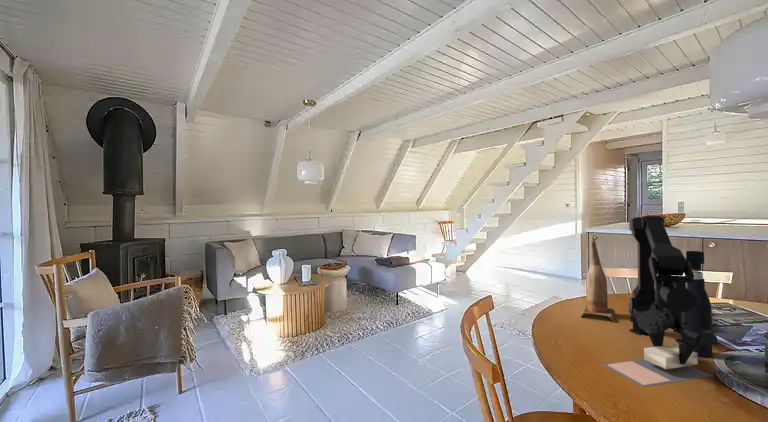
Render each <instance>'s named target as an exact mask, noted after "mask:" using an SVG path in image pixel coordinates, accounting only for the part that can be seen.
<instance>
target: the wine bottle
mask: <svg viewBox="0 0 768 422" xmlns="http://www.w3.org/2000/svg"><path fill="white" fill-rule="evenodd" d="M685 256H686V257H685V258H686V259H687V260H688V262H689V263H690V265H691V268H692V271H693V274H694V279H693V283H686V288H687V289H688V290H690V291H691V292H692V293H693V294H694V295H695V296H696V299H697V304H696V306H695V308H694V309H692V310H690V311H687V312H683V317H684V320H685V321H688V325H686V326H684V328H687V329H690V328H697V327H699V328H702V329H705V330H708V331H711V332H713V316H712V314H713V313H712V312H713V311H712V310H713V309H712V305H711V301H710V298H709V295H708V293H707V290H706V289H705V287H706V284H705V282H706V281H705V279H704V273H703V272H702V271H703V270H702V265H704V264H705V252H704V251H700V250H699V251H698V250H687V251H686V252H685ZM694 352H696V353H697V354H698V358H701V359H708V358H712V357H713V345H707V346H697V347H696V348H695V350H694Z"/></svg>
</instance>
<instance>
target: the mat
mask: <svg viewBox="0 0 768 422" xmlns="http://www.w3.org/2000/svg"><path fill="white" fill-rule="evenodd" d="M602 366H604V367H606V368H607V369H609V370H610V371H613V372H614V373H616V374H618V375H619V376H622V377H623V378H624V379H626V380H629V381H630V382H632V383H633V384H635V385H637V386H639V387H641V388H646V387H653V386H658V385H663V384H669V383H676V382H683V381H688V380H689V381H690V380H696V379H701V378H707V377H712V376H713V375H712V374H709V373H707V372H705V371H703V370H700V369H698V368H695V367H692V365H691V366H684V367H678V368H671V369H664V368H662V367H660V366H658V365H656V364H654V363H651V362H649V361H647V360H645V359H644V358H639V359H631V360H625V361H619V362H618V361H617V362H611V363H605V364H602Z"/></svg>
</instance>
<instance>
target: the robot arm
mask: <svg viewBox="0 0 768 422" xmlns="http://www.w3.org/2000/svg"><path fill="white" fill-rule="evenodd" d="M665 222H666V221H665V217H663V216H661V215H644V216H634V217H633V218H631V219H630V220H629V223H628V226H629V227H628V228H629V231H630V232H631V236H632V237H633V238H634V240H635V241H636V242H637V285H636V287H634V289H632V292H631V297H630V298H629V302H628V312H629V314H630V317H629V318H630V320H629V321H630V323H632V328H629V332H631V333H635V334H638V335H639V336H645V337H649V339H650V342H651V344H652V347H656V346H663V345H664V339H665V333H666V331H667V330H668V331H671V332H674V333H676V334H678V335H680V336H681V337H680V338H676V339H674V341H675V342H676V343H677V345H678V346H679V359H680V364H685V363H686V361H687V360H688V358H689V357H690V355H691V354H692V352H693V351H694V350H695V348H696V347H697V346H707V345H712V346H713V345H717V344H718V337H717V335H716V333H714V331H712V332H711V331H708V330H705V329H702V328H699V327H697V328H690V329H687V328H684V326H686V325H688V321H685V320H684V317H683V312H687V311H690V310H692V309H694V308H695V306H696V304H697V299H696V296H695V295H694V294H693V293H692V292H691V291H690V290H688V289H687V283H693V279H694V274H693V271H692V268H691V265H690V263H689V262H688V260H687V259H686V257H685V255H684V253H683V252H682V250H681V249H680V248H677V247H675V246H673V244H672V241H671V239H670V237H669V234H668V232H667V229H666V225H665V224H666V223H665Z"/></svg>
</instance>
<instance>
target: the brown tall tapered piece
mask: <svg viewBox="0 0 768 422" xmlns="http://www.w3.org/2000/svg"><path fill="white" fill-rule="evenodd" d="M600 260H601V259H600V256H599V252H598V247H597V243H596V237H595V235H591V237H590V266H589V268H588V271H587V274H586V305H585V306H583V307H582V308H583V309H582V311H581V313H580V318H582V317H584V315H587V314H589V315H597V316H605V317H608V318H609V319H610V320H612V322H613V323H615V317H616V311H615V309H614V308H609V307H608V282H607V281H608V280H607V278H606V275H605V273H604V269H603V267H602V263H601V261H600Z"/></svg>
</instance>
